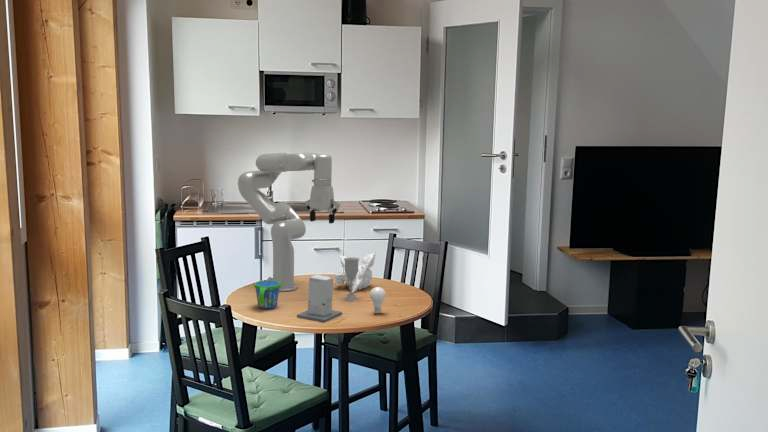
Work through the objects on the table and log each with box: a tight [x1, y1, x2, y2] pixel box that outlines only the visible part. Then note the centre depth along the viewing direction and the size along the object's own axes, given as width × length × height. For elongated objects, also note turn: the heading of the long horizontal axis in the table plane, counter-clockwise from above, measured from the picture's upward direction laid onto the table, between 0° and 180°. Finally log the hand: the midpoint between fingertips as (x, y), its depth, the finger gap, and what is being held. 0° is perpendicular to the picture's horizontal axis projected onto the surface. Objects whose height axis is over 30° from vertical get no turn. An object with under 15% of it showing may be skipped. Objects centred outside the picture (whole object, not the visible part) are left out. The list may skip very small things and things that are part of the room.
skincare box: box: [307, 274, 334, 316], centre depth 263 cm, size 8×6×15 cm
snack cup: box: [253, 279, 281, 310], centre depth 274 cm, size 16×10×10 cm
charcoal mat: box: [296, 309, 343, 323], centre depth 264 cm, size 13×13×1 cm
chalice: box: [344, 256, 360, 302], centre depth 288 cm, size 7×7×18 cm
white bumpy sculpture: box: [334, 251, 377, 294], centre depth 310 cm, size 19×20×20 cm
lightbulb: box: [369, 286, 387, 315], centre depth 268 cm, size 6×6×11 cm
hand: (322, 222), depth 289 cm, fingers open, 9 cm apart
